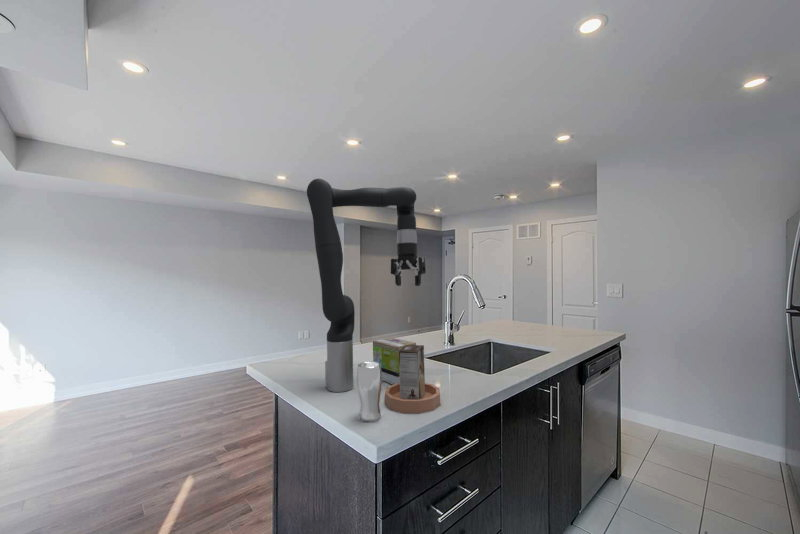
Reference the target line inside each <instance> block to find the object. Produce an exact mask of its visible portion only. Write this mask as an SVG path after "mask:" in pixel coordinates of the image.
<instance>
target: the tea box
mask: <svg viewBox="0 0 800 534" xmlns="http://www.w3.org/2000/svg"><path fill="white" fill-rule="evenodd" d="M405 345H417V343H416V342H413V341H409V340H405V339H401V338H395V337H391V336H390V337H387V338H382V339H378V340H373V341H372V359H373V360H372V362H379V363H380V364H381V373H382V382H386V383H388V384H391V385H394V384H397V383H400V376H399V351H400V350H401V349H402V348H403V347H404V346H405Z"/></svg>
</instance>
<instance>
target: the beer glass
mask: <svg viewBox="0 0 800 534" xmlns="http://www.w3.org/2000/svg"><path fill="white" fill-rule="evenodd" d="M356 374H357V379H356V382H357V390H358V395H359V396H358V397H359V400H360V411H359V420H361V421H362V422H365V423H374V422H377V421H379V420H380V419H381V418H382V413H381V408H380V407H381V406H380V401H381V399H380V398H381V393H382V386H383V385H382V384H383V380H382V373H381V364H380V363H379V362H373V360H372V361H364V362H360V363H358V364H357V373H356Z"/></svg>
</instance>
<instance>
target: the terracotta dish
mask: <svg viewBox="0 0 800 534" xmlns="http://www.w3.org/2000/svg"><path fill="white" fill-rule="evenodd" d="M440 390H441V389H440V387H439V386H436V385H435V384H432V383H430V382H429V383H428V382H425V395H424V397H423V399H419V400H408V399H401V398H400V383H397V384H394V385H393V384H391V385H390V386H388V387H386V388H385V391H384V405H385V406H386V407H387V408H388V409H389V410H391V411H395V412H399V413H402V414H423V413H426V412H427V413H428V412H432V411H434V410H435V409H438V408H439V407H440V406H441V391H440Z"/></svg>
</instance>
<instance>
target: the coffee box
mask: <svg viewBox="0 0 800 534" xmlns="http://www.w3.org/2000/svg"><path fill="white" fill-rule="evenodd" d="M399 376H400V398H401V399H408V400H419V399H423V397H424V395H425V383H426V381H425V377H426V376H425V345H423V344H422V345H421V344H420V345H418V344H416V345H405V346H404V347H403V348H402V349H401V350H400V351H399Z"/></svg>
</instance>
